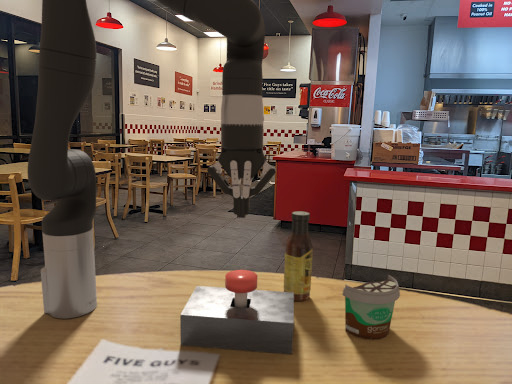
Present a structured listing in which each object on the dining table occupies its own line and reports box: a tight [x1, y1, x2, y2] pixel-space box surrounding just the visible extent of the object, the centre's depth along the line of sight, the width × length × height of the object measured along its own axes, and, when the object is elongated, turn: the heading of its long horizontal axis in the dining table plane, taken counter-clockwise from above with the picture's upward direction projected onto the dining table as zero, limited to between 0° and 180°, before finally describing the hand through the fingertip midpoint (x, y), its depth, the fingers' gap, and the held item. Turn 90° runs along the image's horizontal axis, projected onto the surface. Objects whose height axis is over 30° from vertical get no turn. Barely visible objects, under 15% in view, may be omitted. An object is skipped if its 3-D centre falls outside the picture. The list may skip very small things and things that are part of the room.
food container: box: [342, 274, 401, 341], centre depth 75 cm, size 12×6×10 cm, turn 117°
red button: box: [224, 269, 258, 308], centre depth 73 cm, size 6×6×7 cm
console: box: [179, 285, 295, 355], centre depth 74 cm, size 20×12×6 cm, turn 85°
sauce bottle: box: [283, 211, 314, 302], centre depth 89 cm, size 7×6×20 cm
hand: (241, 216), depth 72 cm, fingers closed
